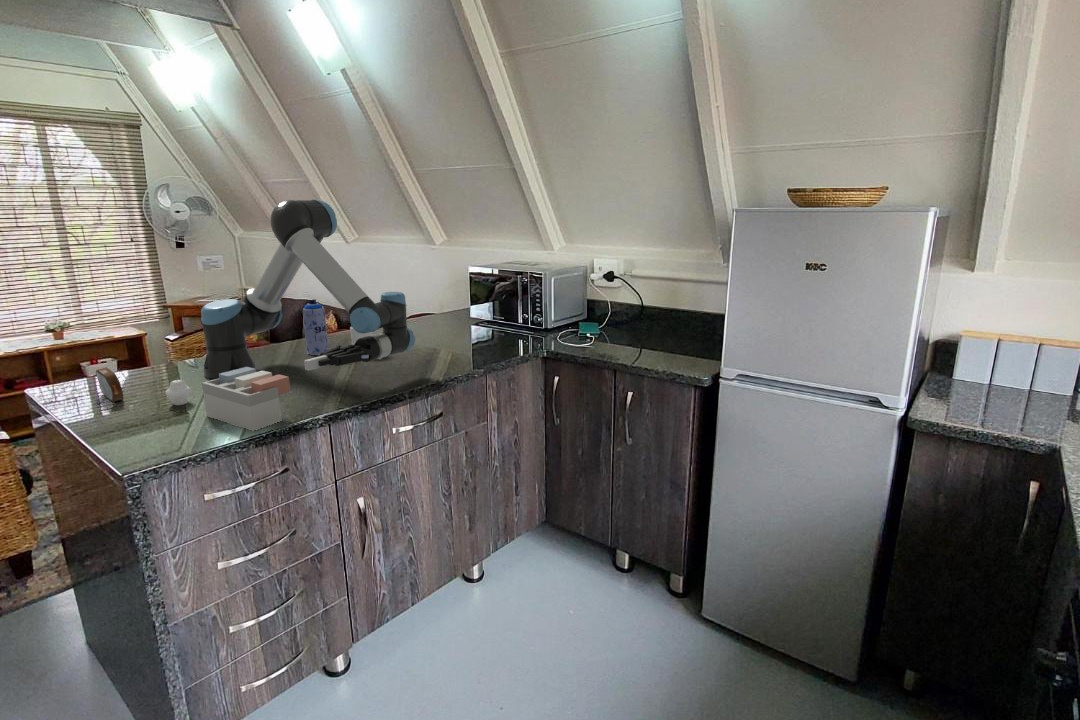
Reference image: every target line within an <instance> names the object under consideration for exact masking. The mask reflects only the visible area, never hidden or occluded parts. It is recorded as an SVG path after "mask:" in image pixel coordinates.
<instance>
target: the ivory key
mask: <svg viewBox="0 0 1080 720" xmlns="http://www.w3.org/2000/svg"><path fill="white" fill-rule="evenodd" d="M272 376H273V373H272V372H271V371H267V370H266V371H265V370H260V371H256V372H255V373H251V374H248V375H244V376H240V377H236V378H234V379H235V386H236V389H238V388H241V387H245V386H248V385H251V382H254V381H257V380H261V379H264V378H268V377H272Z"/></svg>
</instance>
